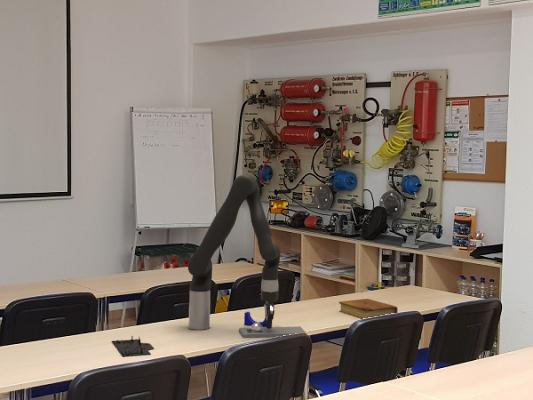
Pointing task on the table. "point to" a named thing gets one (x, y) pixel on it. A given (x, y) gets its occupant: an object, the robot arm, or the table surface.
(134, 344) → the circuit board
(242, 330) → the pocket slab
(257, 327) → the steel ball
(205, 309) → the robot arm
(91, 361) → the table surface
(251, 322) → the cable clip
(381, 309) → the diary
